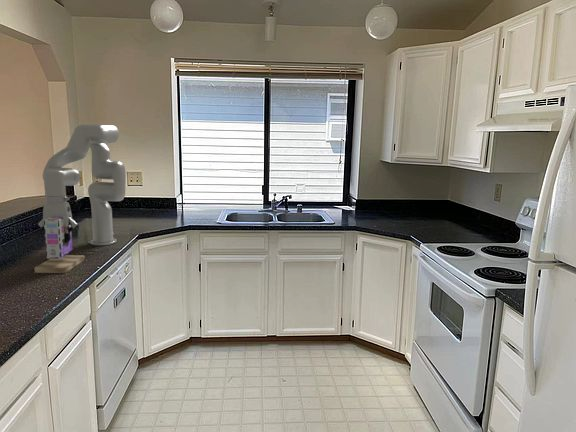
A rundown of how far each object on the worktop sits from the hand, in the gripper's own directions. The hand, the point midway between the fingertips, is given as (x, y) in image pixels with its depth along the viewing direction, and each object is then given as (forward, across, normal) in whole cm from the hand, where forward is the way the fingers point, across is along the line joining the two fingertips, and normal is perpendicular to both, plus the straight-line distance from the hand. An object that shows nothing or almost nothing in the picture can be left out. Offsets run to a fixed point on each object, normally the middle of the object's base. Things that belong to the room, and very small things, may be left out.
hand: (59, 241), depth 172 cm
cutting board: (+11, 0, 0) cm, 11 cm away
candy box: (+6, 0, 0) cm, 6 cm away
